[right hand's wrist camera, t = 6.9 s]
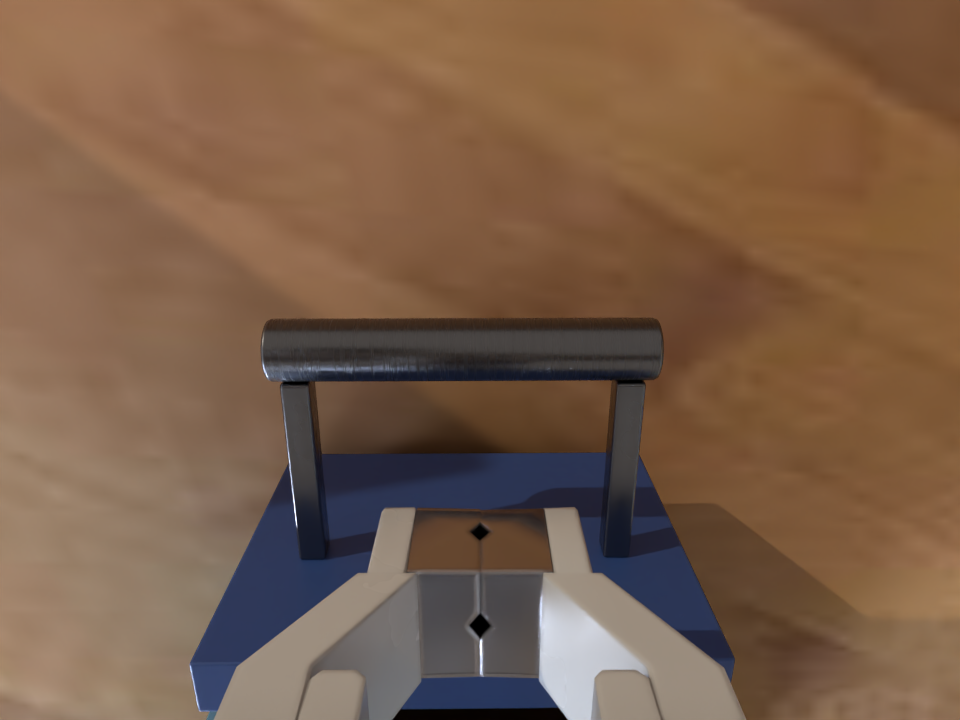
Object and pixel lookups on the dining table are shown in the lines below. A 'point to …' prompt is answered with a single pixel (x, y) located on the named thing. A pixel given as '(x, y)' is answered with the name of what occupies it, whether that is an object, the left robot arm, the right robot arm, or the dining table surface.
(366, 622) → the right robot arm
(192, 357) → the dining table surface
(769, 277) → the dining table surface
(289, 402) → the drawer
